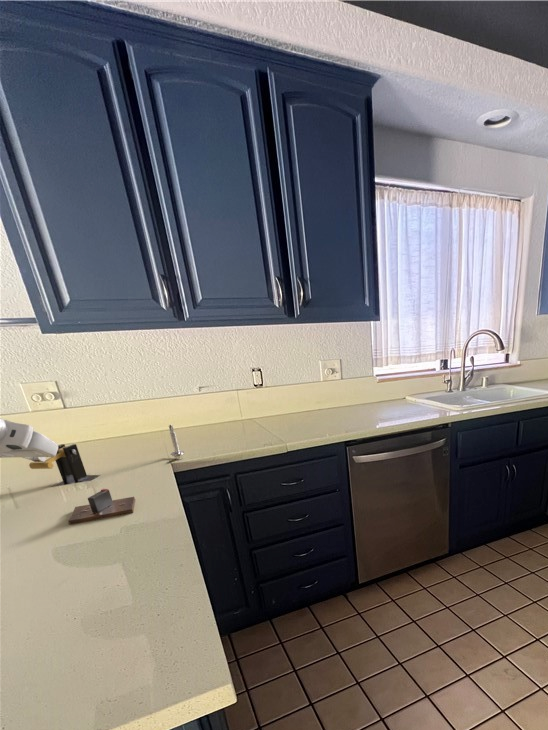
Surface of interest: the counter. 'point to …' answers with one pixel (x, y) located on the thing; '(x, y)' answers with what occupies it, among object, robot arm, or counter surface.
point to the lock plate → (102, 511)
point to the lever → (47, 461)
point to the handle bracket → (72, 467)
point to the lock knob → (100, 500)
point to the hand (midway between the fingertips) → (41, 459)
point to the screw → (175, 445)
